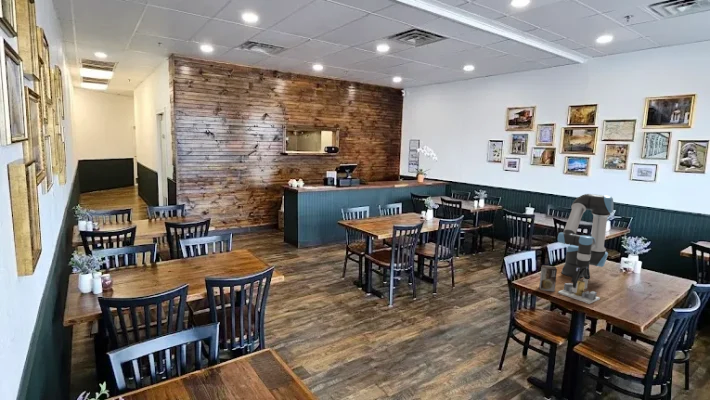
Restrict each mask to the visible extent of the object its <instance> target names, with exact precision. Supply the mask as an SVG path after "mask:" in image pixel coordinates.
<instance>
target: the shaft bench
mask: <svg viewBox="0 0 710 400" xmlns="http://www.w3.org/2000/svg"><path fill="white" fill-rule="evenodd" d="M572 286H573V282H571V283H570V282H567V283H566V282H565V283H564V286H563V289H562V290H559V291H558V292H557V293H558V294H560V295H563V296H564V297H568V298H571V299H575V300H577V301H580V302H583V303H586V304H589V305H590V304H592V303H594V302H595V303H596V302H598V301H600V299H601V298H600V297H599V296H597V293H598V292H596V291H594V290H592V291H589V290H587V291H584V293H582V296H578V295H575V294H574V293H575V292H572Z"/></svg>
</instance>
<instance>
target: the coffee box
mask: <svg viewBox="0 0 710 400" xmlns="http://www.w3.org/2000/svg"><path fill="white" fill-rule="evenodd" d="M557 270H558V269H557V267H556V266H554V265H545V264H542V265H541V269H540V278H539V279H540V280H539V290H541V291H548V292H556V283H557V273H558V271H557Z"/></svg>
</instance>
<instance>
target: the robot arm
mask: <svg viewBox="0 0 710 400" xmlns="http://www.w3.org/2000/svg"><path fill="white" fill-rule="evenodd" d="M614 205H615V204H614V198H613V197H612V196H610V195H604V194H603V195H602V194H593V193H592V194H591V193H585V194H582V195H580V196H578V197H577V198H576V199H575V200H573V202H572V204H571V207H570V208H571V211H570V213H569V216H568V218H567V221H566V224H565V226H564V229H563V232H558V235H557V243H560V244H563V245H568V246H567V247H566V251H565V252H566V254H565V255H566V256H565V262H564V265H563V267H562V269H561V274H562V275H565V276H567V277H571V281H570V282H571V283H572V284H573V286H572V292H575V293H577V286H578V283H577V282H578V280H580V278H582V281H584V282H585V287H584V290H587V289H588V284H589V283H588V282H589V281H590V279H591V273H590V266H594V267H599V268H600V267H601V268H602V267H604V266H605V264H606V262H607V258H608V256H609V253H608V252H607V249H606V247H605V240H606V232H607V222H608V217H609V216H610V215H611V214H612V213H614V207H615V206H614ZM587 210H588V211H590V213H591V214H592V215H593V217H592V218H593V219H592V226H591V235H579V234H577V232H578V228H579V225H580V222H581V220H582V217H583V214H584V213H585V212H586V211H587Z"/></svg>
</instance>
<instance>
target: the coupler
mask: <svg viewBox="0 0 710 400" xmlns="http://www.w3.org/2000/svg"><path fill="white" fill-rule="evenodd" d="M577 283H578V286H577V293H574V294H575V295H578V296H582V293H584V292H585V288H584V287H585V282H584V281H583V280H580V279H579V280H578V282H577Z"/></svg>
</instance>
